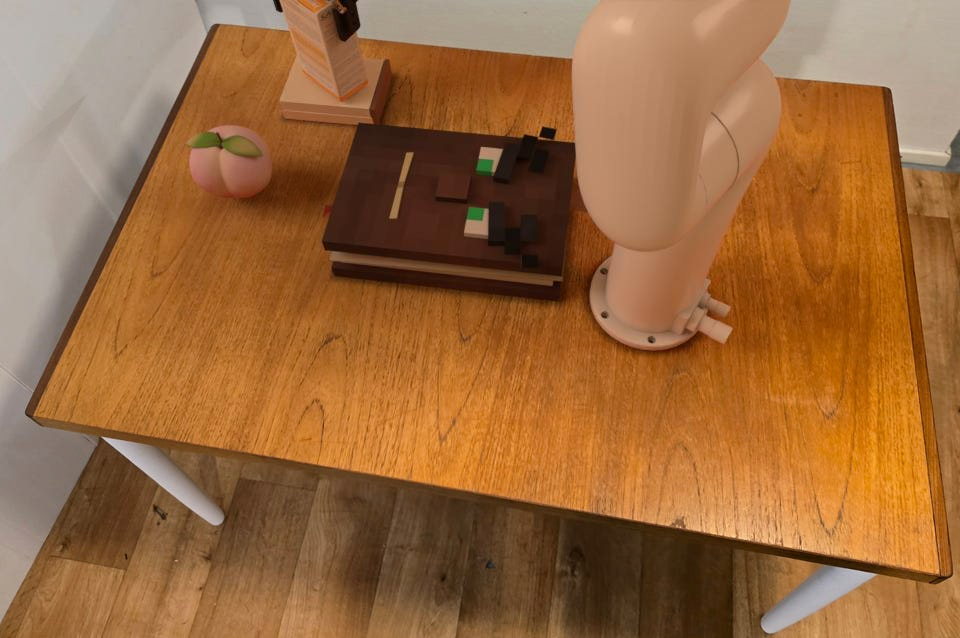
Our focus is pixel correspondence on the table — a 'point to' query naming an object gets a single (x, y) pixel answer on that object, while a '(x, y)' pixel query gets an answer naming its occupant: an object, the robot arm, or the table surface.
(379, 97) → the thin cream books
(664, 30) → the robot arm
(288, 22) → the supplement box
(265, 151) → the decorative fruit
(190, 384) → the table surface
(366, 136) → the decorative book
